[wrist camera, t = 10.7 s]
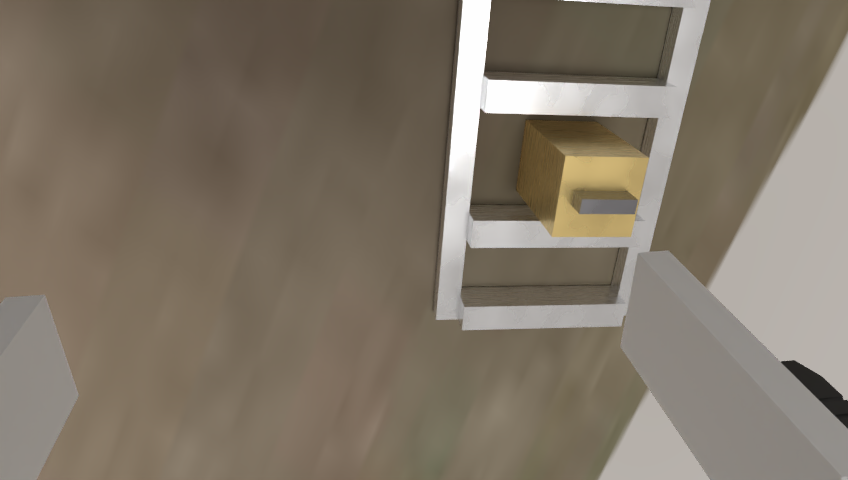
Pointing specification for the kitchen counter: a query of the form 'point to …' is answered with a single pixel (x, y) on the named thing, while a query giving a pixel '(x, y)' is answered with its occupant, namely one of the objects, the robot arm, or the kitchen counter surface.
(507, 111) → the white slotted rack
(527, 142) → the tan rectangular block
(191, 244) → the kitchen counter surface
